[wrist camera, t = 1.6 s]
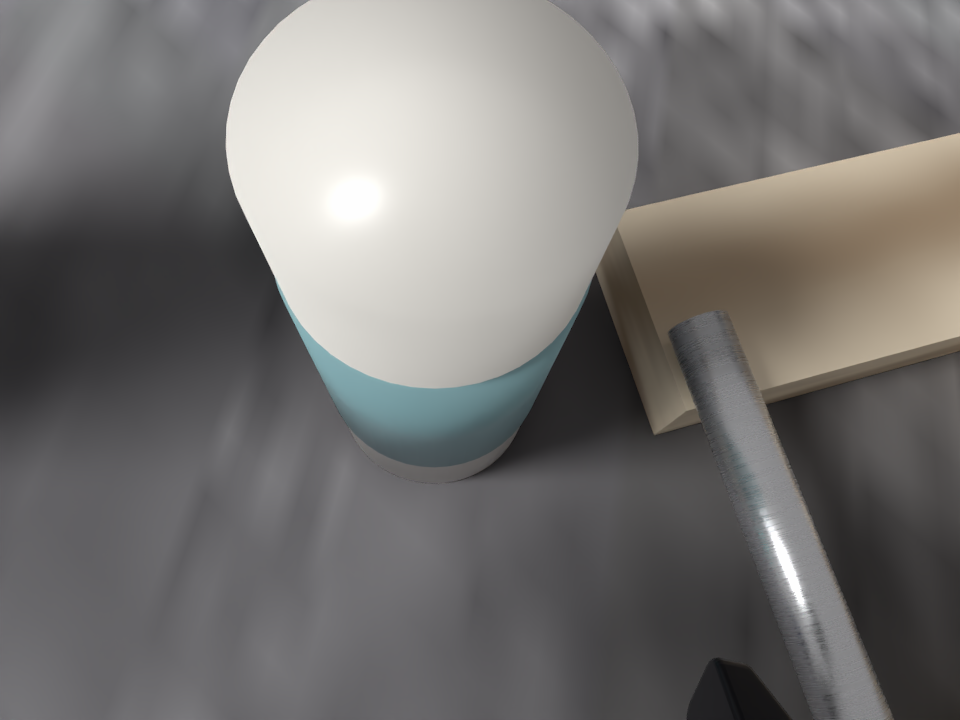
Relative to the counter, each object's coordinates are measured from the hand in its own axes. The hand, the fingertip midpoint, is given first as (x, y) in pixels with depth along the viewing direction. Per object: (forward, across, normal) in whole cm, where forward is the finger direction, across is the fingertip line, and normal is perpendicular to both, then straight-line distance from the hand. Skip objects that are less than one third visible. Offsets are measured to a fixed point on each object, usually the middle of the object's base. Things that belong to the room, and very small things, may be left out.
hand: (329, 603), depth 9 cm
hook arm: (+8, -10, +5) cm, 14 cm away
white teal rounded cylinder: (+13, 0, +4) cm, 14 cm away
